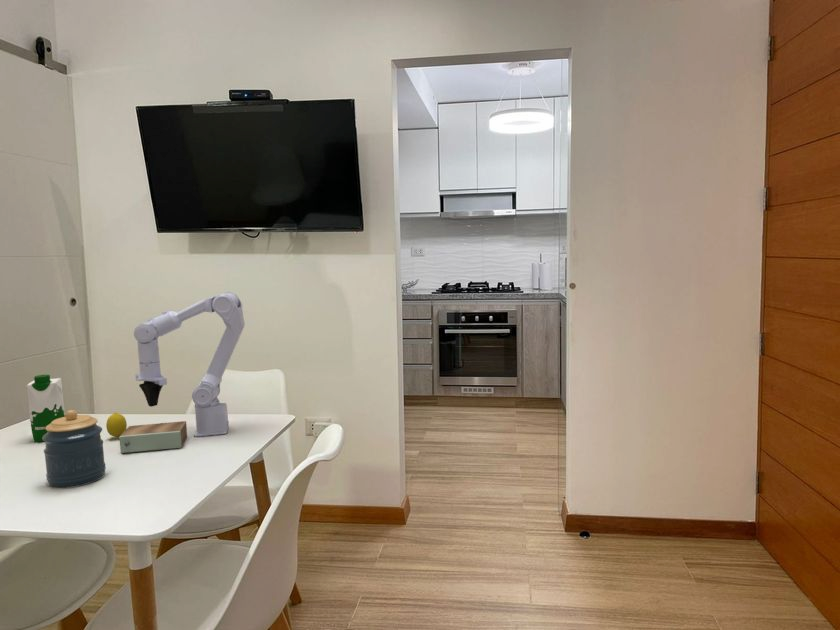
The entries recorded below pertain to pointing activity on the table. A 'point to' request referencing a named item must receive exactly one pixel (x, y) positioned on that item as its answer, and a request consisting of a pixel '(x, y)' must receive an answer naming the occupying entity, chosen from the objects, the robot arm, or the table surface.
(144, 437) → the door
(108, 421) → the lemon
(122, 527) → the table surface
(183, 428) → the cabinet
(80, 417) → the canister
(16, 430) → the table surface
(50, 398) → the milk carton
